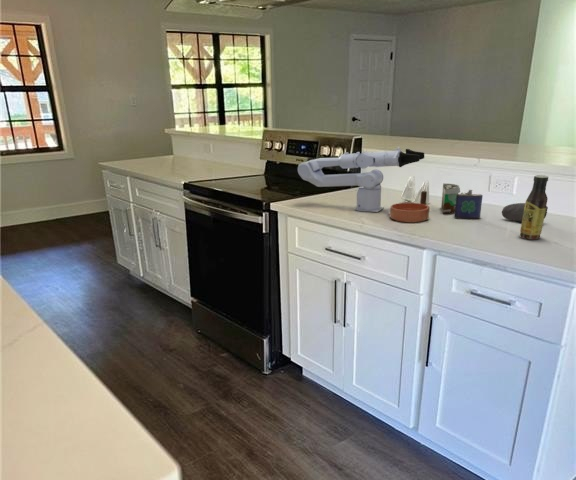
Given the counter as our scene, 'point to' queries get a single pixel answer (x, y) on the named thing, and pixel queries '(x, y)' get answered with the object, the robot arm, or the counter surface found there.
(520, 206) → the perforated stone tool
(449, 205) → the food container
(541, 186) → the sauce bottle
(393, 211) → the bowl
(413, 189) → the shaker set
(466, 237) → the counter surface
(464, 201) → the flask
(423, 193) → the stick
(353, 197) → the counter surface
